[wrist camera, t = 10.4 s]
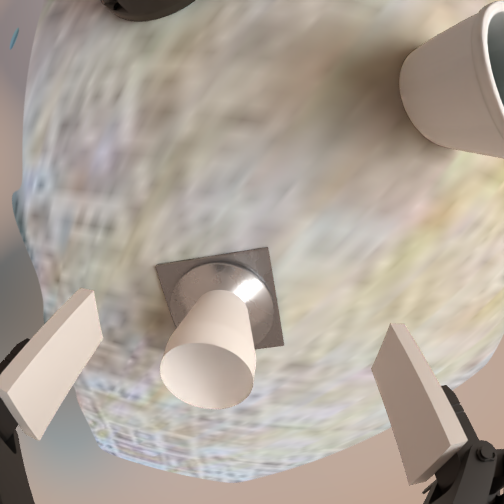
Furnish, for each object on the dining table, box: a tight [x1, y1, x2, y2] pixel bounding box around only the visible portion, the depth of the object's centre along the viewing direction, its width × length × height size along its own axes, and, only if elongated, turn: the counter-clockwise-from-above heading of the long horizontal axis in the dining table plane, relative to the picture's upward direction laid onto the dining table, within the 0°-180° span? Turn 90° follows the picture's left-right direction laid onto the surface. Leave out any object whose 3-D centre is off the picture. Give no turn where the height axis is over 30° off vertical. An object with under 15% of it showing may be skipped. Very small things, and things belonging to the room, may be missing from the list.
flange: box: [156, 247, 284, 349], centre depth 37 cm, size 14×14×2 cm
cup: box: [160, 290, 256, 409], centre depth 31 cm, size 9×9×12 cm
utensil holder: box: [399, 1, 504, 158], centre depth 19 cm, size 15×15×18 cm
